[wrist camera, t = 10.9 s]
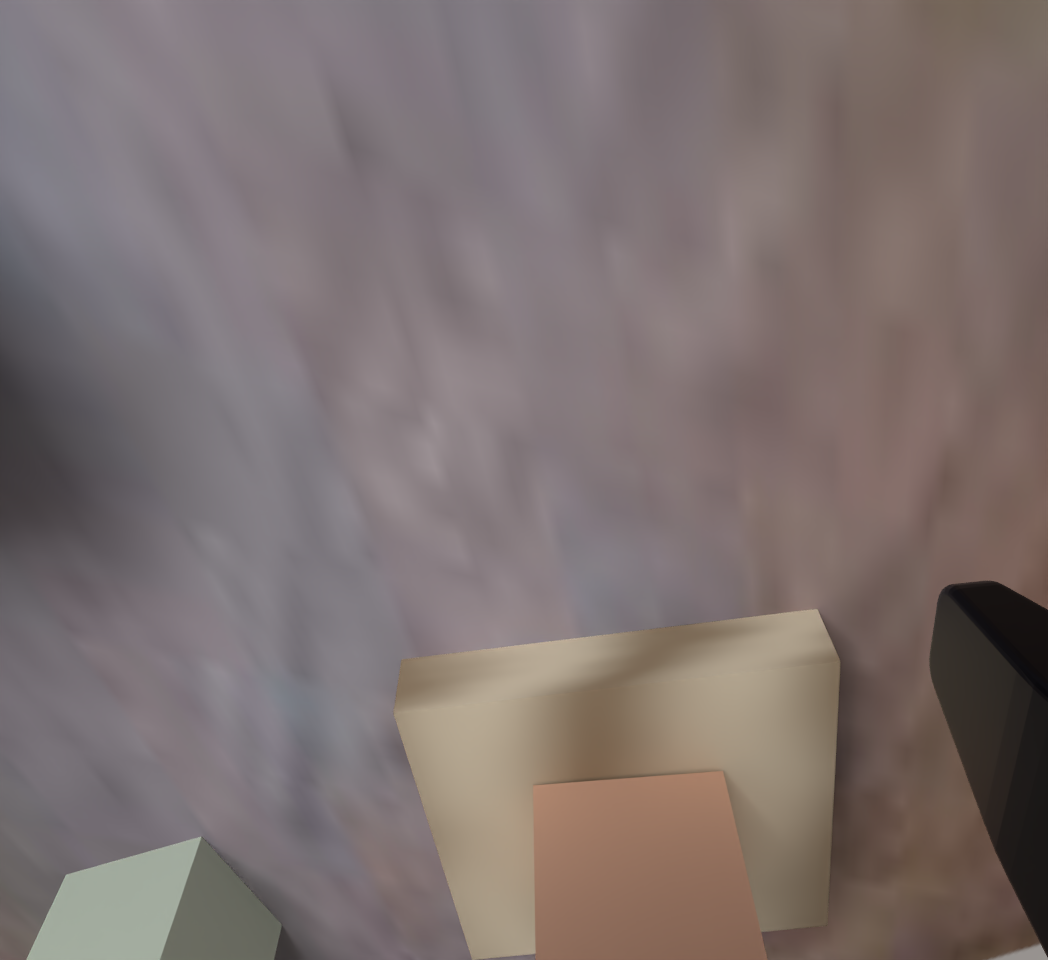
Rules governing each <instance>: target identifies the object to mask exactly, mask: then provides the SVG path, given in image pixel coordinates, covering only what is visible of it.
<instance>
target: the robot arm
mask: <svg viewBox="0 0 1048 960" xmlns="http://www.w3.org/2000/svg"><path fill="white" fill-rule="evenodd" d="M929 662H930V673H931V678H932V682H933V685H934V688H935V691H936V694H937V696H938V699H939V702H940V705H941V707H942V710H943V713H944V715H945V718H946V721H947V724H948V726H949V729H950V732H951V734H952V737H953V740H954V743H955V745H956V748H957V751H958V753H959V756H960V759H961V762H962V764H963V767H964V770H965V772H966V775H967V778H968V781H969V783H970V786H971V789H972V791H973V794H974V797H975V800H976V802H977V805H978V808H979V810H980V813H981V816H982V819H983V821H984V824H985V826H986V829H987V831H988V834H989V836H990V839H991V841H992V844H993V847H994V849H995V851H996V854H997V856H998V858H999V860H1000V862H1001V864H1002V866H1003V868H1004V871H1005V873H1006V875H1007V877H1008V879H1009V881H1010V883H1011V885H1012V887H1013V889H1014V891H1015V893H1016V895H1017V897H1018V899H1019V901H1020V903H1021V905H1022V907H1023V909H1024V911H1025V913H1026V915H1027V917H1028V919H1029V921H1030V923H1031V925H1032V927H1033V929H1034V931H1035V933H1036V935H1037V937H1038V939H1039V941H1040V943H1041V945H1042V947H1043V949H1044V951H1045V953H1046V955H1047V957H1048V610H1047V609H1045V608H1044V607H1042V606H1040V605H1038V604H1036V603H1035V602H1033V601H1031V600H1029V599H1028V598H1026V597H1024V596H1022V595H1020V594H1019V593H1017V592H1015V591H1013V590H1011V589H1010V588H1008V587H1006V586H1004V585H1002V584H1000V583H998V582H994V581H979V582H969V583H960V584H951V585H948V586H947V587H945V588H944V589H943V590H942V591H941V593H940V595H939V598H938V602H937V609H936V616H935V623H934V630H933V636H932V643H931V650H930V658H929Z"/></svg>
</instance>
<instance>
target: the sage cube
mask: <svg viewBox="0 0 1048 960" xmlns="http://www.w3.org/2000/svg"><path fill="white" fill-rule="evenodd" d="M281 927H282V924H281V923H280V922H279V921H278V920H277V919H276V918H275V917H274V916H273V915H272V913H271V912H270V911H269V910H268V909H267V908H266V907H265V906H264V905H263V904H262V902H261V901H260V900H259V899H258V898H257V897H256V896H255V895H254V894H253V893H252V891H251V890H250V889H249V888H248V887H247V886H246V885H245V884H244V883H243V882H242V880H241V879H240V878H239V877H238V876H237V875H236V874H235V873H234V872H233V871H232V870H231V868H230V867H229V866H228V865H227V864H226V863H225V862H224V861H223V860H222V859H221V857H220V856H219V855H218V854H217V853H216V852H215V851H214V850H213V849H212V848H211V846H210V845H209V844H208V843H207V842H206V841H205V840H204V839H203V838H202V837H199V838H195V839H191V840H188V841H184V842H181V843H177V844H174V845H170V846H167V847H163V848H160V849H156V850H152V851H149V852H145V853H142V854H138V855H135V856H131V857H128V858H124V859H120V860H117V861H113V862H110V863H106V864H103V865H99V866H96V867H92V868H89V869H85V870H81V871H78V872H74V873H71V874H67V875H66V876H65V878H64V880H63V883H62V885H61V887H60V889H59V891H58V893H57V895H56V897H55V900H54V902H53V904H52V906H51V908H50V910H49V912H48V915H47V917H46V919H45V921H44V923H43V925H42V927H41V930H40V932H39V934H38V936H37V938H36V940H35V942H34V944H33V947H32V949H31V951H30V953H29V955H28V957H27V959H26V960H274V958H275V953H276V949H277V945H278V940H279V936H280V931H281Z"/></svg>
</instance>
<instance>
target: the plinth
mask: <svg viewBox="0 0 1048 960" xmlns="http://www.w3.org/2000/svg"><path fill="white" fill-rule="evenodd" d="M839 681H840V659H839V657H838V655H837V652H836V650H835V648H834V646H833V643H832V641H831V639H830V637H829V634H828V632H827V630H826V628H825V625H824V623H823V621H822V619H821V616H820V614H819V612H818V610H817V609H813V610H805V611H796V612H788V613H780V614H772V615H764V616H755V617H747V618H739V619H731V620H723V621H714V622H706V623H698V624H690V625H682V626H673V627H665V628H657V629H649V630H640V631H632V632H624V633H616V634H608V635H599V636H591V637H583V638H575V639H567V640H558V641H550V642H542V643H534V644H526V645H517V646H509V647H501V648H493V649H485V650H476V651H468V652H460V653H452V654H444V655H435V656H427V657H419V658H411V659H403V660H401V667H400V673H399V680H398V686H397V693H396V700H395V706H394V713H393V714H394V717H395V720H396V723H397V726H398V729H399V732H400V735H401V739H402V742H403V745H404V748H405V751H406V754H407V757H408V760H409V763H410V767H411V770H412V773H413V776H414V779H415V782H416V785H417V788H418V792H419V795H420V798H421V801H422V804H423V807H424V810H425V813H426V817H427V820H428V823H429V826H430V829H431V832H432V835H433V838H434V842H435V845H436V848H437V851H438V854H439V857H440V860H441V863H442V867H443V870H444V873H445V876H446V879H447V882H448V885H449V888H450V892H451V895H452V898H453V901H454V904H455V907H456V910H457V913H458V917H459V920H460V923H461V926H462V929H463V932H464V935H465V938H466V942H467V945H468V948H469V951H470V954H471V957H472V960H475V959H486V958H496V957H507V956H517V955H527V954H536V951H535V884H534V816H533V785H544V784H557V783H571V782H584V781H597V780H610V779H623V778H636V777H650V776H663V775H676V774H689V773H702V772H715V771H723V773H724V777H725V782H726V786H727V790H728V794H729V798H730V803H731V807H732V811H733V815H734V820H735V824H736V828H737V832H738V837H739V841H740V845H741V849H742V854H743V858H744V862H745V866H746V871H747V875H748V879H749V883H750V887H751V892H752V896H753V900H754V904H755V909H756V913H757V917H758V921H759V926H760V930H761V932H767V931H777V930H788V929H798V928H809V927H819V926H827V923H828V903H829V883H830V862H831V842H832V822H833V802H834V782H835V762H836V742H837V722H838V702H839Z"/></svg>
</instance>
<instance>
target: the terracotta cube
mask: <svg viewBox="0 0 1048 960" xmlns="http://www.w3.org/2000/svg"><path fill="white" fill-rule="evenodd" d="M533 816H534V884H535V951H536V960H767V955H766V951H765V947H764V943H763V938H762V934H761V930H760V926H759V921H758V917H757V913H756V909H755V904H754V900H753V896H752V892H751V887H750V883H749V879H748V875H747V871H746V866H745V862H744V858H743V854H742V849H741V845H740V841H739V837H738V832H737V828H736V824H735V820H734V815H733V811H732V807H731V803H730V798H729V794H728V790H727V786H726V782H725V777H724V773H723V771H715V772H702V773H689V774H676V775H663V776H650V777H636V778H623V779H610V780H597V781H584V782H571V783H557V784H544V785H533Z"/></svg>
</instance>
